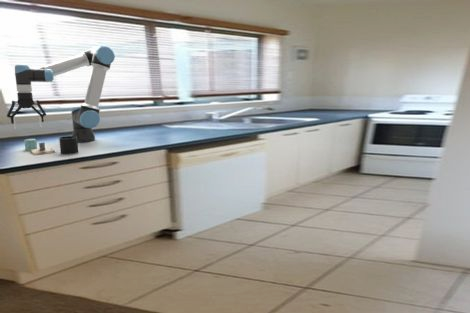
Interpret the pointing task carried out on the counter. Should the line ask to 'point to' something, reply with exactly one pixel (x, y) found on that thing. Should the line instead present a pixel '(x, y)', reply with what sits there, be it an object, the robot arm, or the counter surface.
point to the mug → (68, 145)
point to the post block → (42, 150)
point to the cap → (30, 144)
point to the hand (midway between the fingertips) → (28, 128)
